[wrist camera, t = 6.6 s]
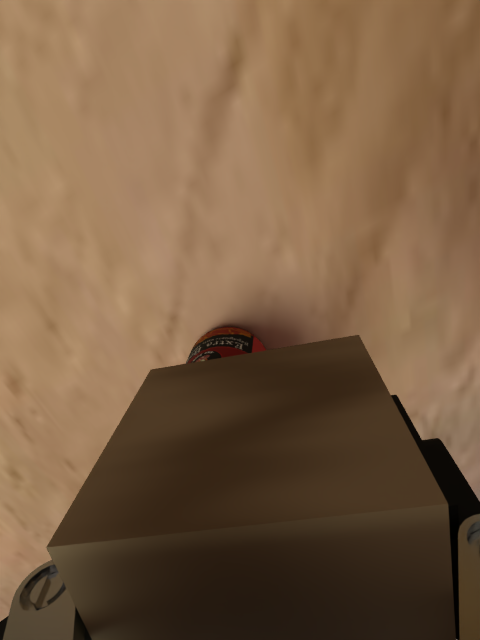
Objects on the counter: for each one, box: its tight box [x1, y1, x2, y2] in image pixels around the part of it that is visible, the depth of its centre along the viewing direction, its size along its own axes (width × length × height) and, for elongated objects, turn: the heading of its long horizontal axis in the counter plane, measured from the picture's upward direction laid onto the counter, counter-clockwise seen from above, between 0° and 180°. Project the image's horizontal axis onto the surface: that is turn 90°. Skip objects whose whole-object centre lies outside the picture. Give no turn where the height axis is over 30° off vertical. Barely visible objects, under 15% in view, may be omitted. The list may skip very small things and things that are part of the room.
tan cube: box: [46, 335, 456, 640], centre depth 10 cm, size 6×6×6 cm
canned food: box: [186, 327, 266, 364], centre depth 33 cm, size 8×8×11 cm
